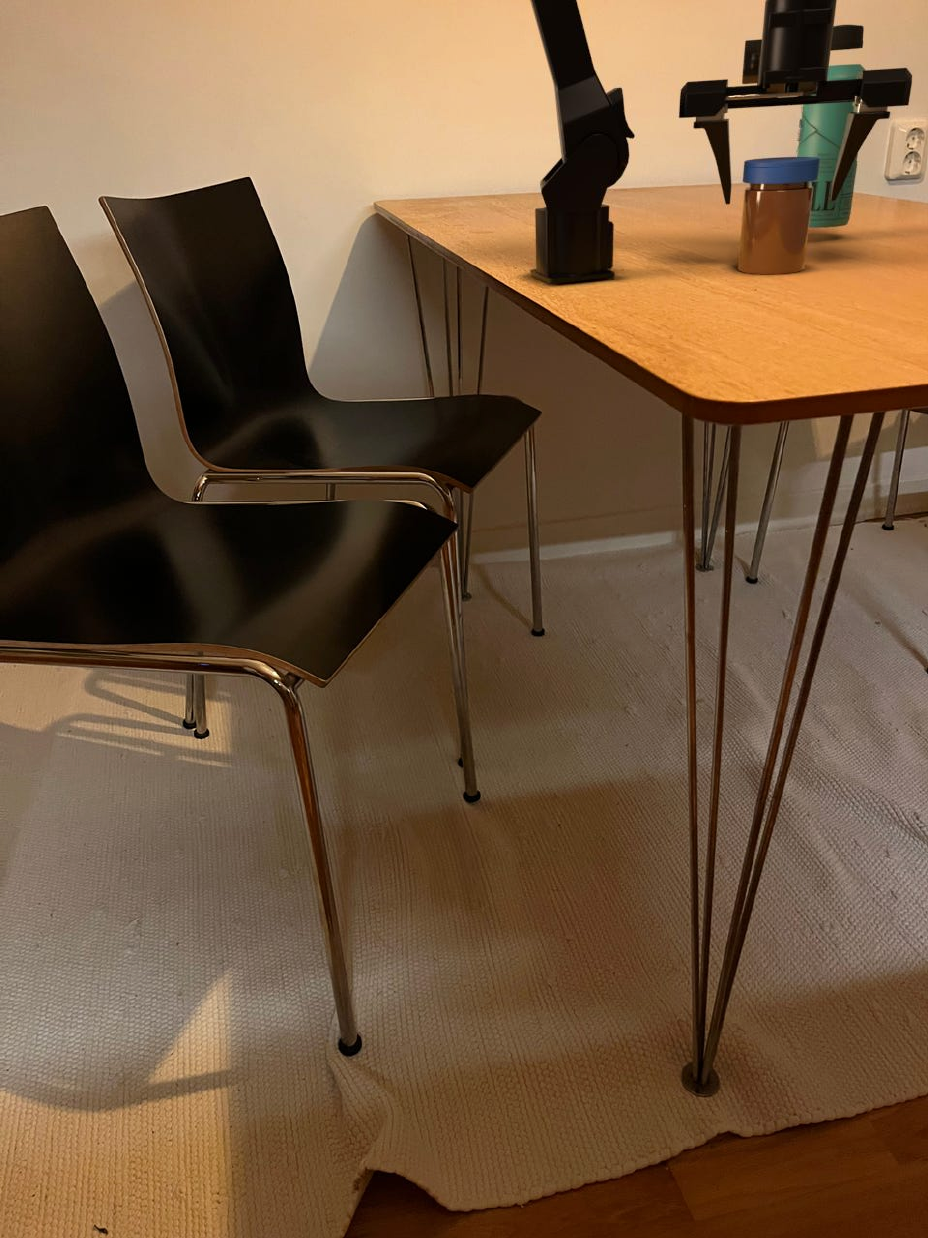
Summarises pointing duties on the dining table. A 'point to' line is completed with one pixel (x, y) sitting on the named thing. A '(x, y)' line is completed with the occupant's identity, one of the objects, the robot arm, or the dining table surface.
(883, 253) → the dining table surface
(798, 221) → the jar
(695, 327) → the dining table surface
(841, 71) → the beverage bottle
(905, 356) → the dining table surface
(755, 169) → the jar lid
